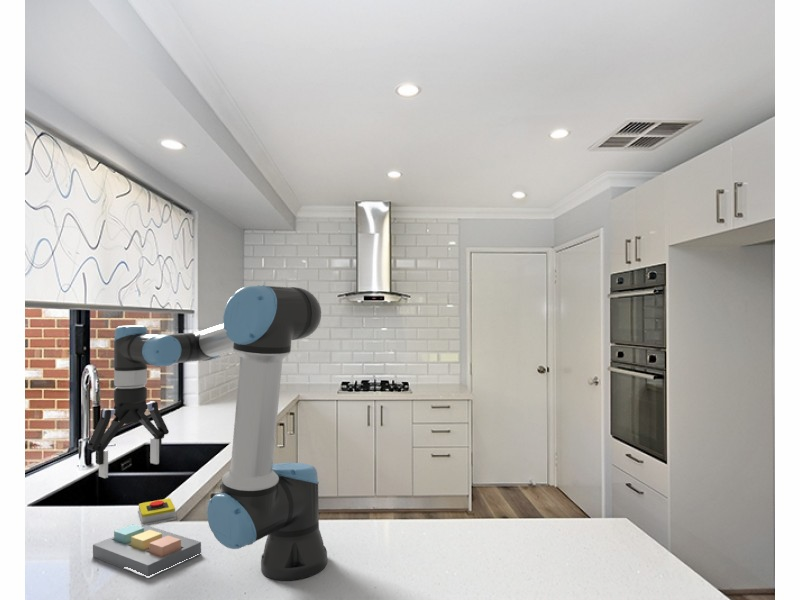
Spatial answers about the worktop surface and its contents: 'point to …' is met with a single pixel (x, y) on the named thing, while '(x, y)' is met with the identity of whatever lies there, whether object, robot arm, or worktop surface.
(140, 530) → the teal button
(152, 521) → the emergency button
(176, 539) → the terracotta button
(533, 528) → the worktop surface
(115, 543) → the button panel
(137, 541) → the yellow button
